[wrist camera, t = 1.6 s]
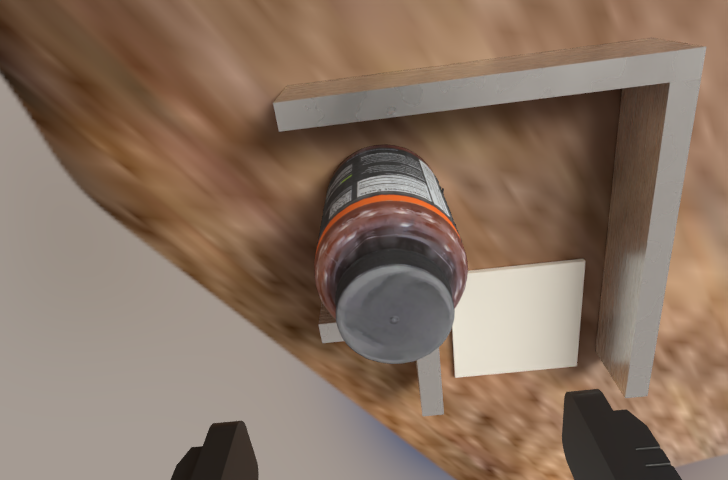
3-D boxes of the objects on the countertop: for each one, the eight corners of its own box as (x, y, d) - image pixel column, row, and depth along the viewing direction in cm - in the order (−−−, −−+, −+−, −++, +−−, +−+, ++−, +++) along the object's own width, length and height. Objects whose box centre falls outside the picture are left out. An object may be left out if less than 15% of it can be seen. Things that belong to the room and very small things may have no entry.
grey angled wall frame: (286, 86, 24) (273, 103, 20) (653, 37, 23) (706, 46, 19) (341, 375, 32) (338, 423, 29) (615, 349, 31) (647, 395, 28)
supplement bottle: (416, 256, 28) (445, 406, 18) (315, 228, 28) (285, 368, 17) (456, 159, 26) (514, 270, 16) (345, 125, 25) (330, 218, 15)
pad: (448, 272, 29) (449, 275, 28) (583, 258, 28) (585, 261, 28) (454, 374, 32) (455, 377, 32) (575, 363, 32) (576, 366, 31)
